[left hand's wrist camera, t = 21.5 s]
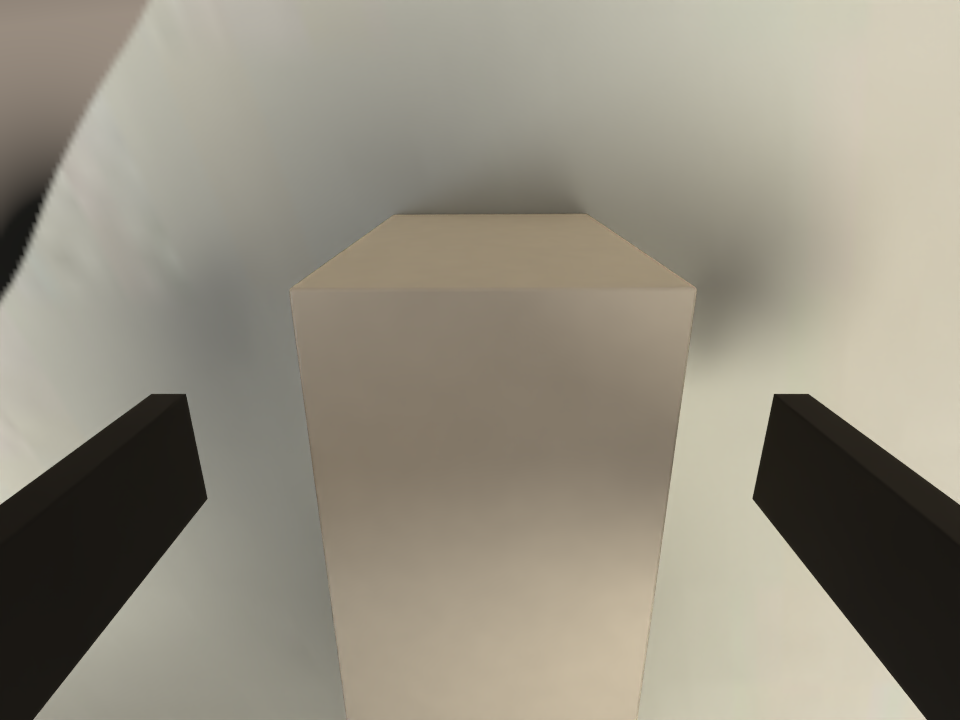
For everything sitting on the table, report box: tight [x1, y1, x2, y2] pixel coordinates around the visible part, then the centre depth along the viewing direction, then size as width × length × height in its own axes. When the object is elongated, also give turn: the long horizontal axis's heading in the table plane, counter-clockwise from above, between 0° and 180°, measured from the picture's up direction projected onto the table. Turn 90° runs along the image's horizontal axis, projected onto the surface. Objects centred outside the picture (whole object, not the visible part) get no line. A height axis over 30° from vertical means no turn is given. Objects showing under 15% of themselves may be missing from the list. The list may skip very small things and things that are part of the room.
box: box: [289, 214, 697, 720], centre depth 17 cm, size 26×6×9 cm, turn 0°
